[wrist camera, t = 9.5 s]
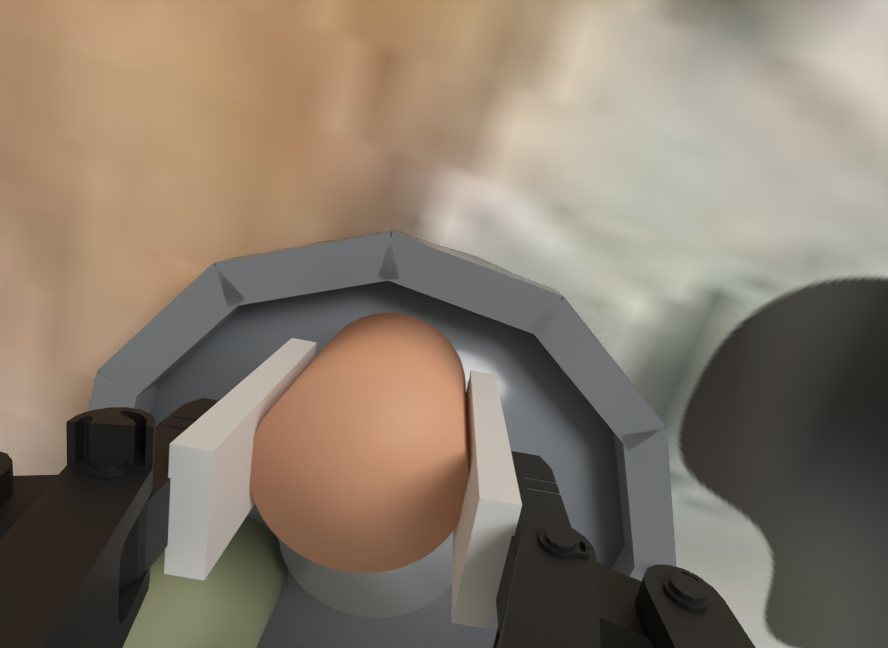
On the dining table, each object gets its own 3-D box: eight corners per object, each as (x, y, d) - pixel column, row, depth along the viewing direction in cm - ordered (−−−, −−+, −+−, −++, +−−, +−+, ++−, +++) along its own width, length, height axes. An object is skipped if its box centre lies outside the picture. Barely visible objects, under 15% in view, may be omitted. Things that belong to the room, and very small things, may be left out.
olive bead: (271, 504, 20) (201, 618, 14) (300, 604, 21) (245, 743, 16) (157, 520, 20) (47, 637, 15) (191, 617, 21) (101, 758, 16)
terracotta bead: (398, 281, 15) (366, 329, 10) (495, 395, 16) (514, 495, 11) (286, 375, 16) (202, 464, 11) (384, 478, 17) (351, 607, 12)
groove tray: (626, 188, 17) (649, 186, 15) (666, 685, 23) (688, 736, 20) (38, 290, 19) (-15, 302, 17) (204, 732, 24) (179, 784, 22)
